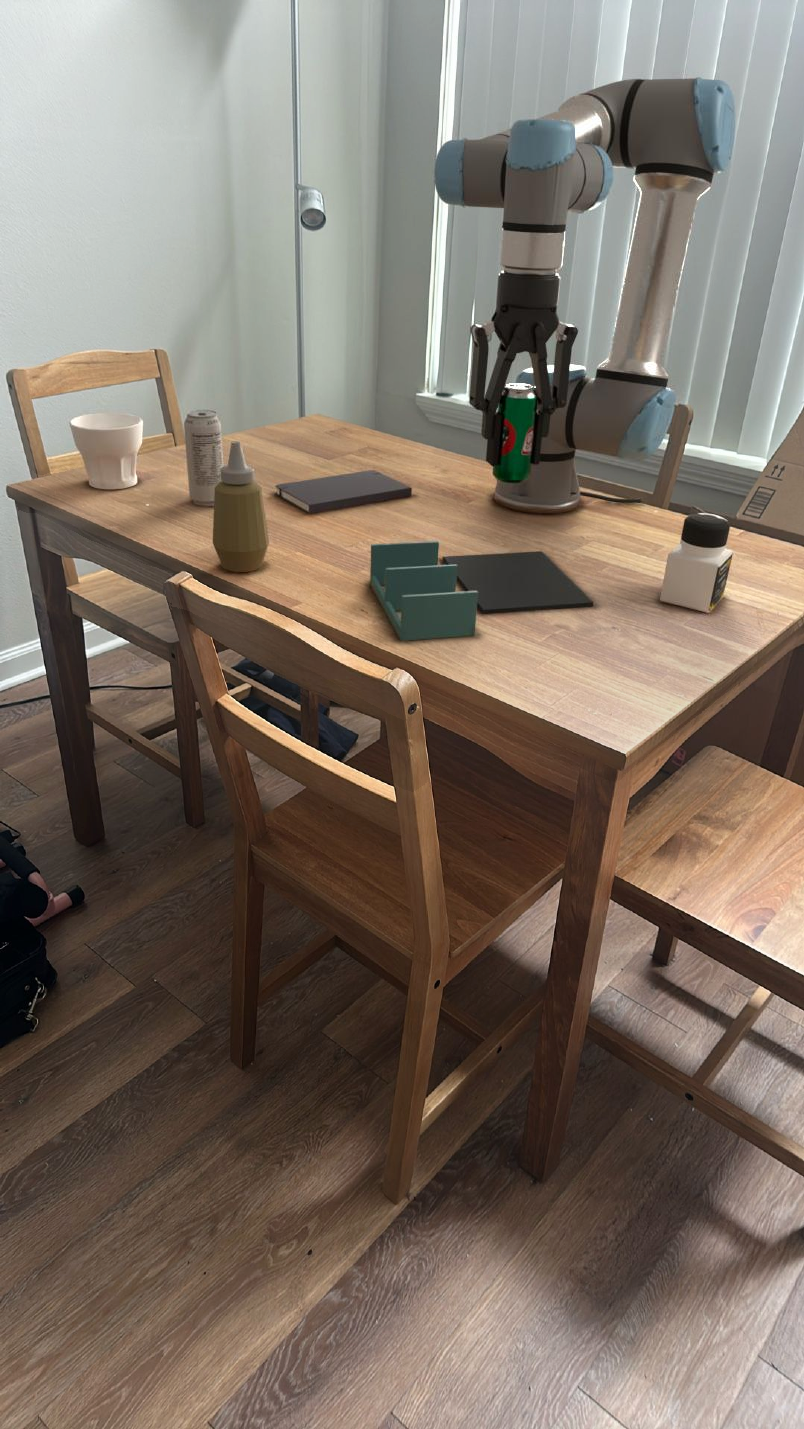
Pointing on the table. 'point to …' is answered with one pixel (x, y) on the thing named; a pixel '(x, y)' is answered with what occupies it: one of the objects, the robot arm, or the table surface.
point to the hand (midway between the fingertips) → (512, 462)
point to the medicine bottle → (698, 564)
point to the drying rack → (421, 592)
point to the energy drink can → (203, 455)
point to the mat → (517, 582)
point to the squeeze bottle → (239, 516)
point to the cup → (108, 448)
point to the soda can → (516, 432)
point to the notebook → (342, 491)
